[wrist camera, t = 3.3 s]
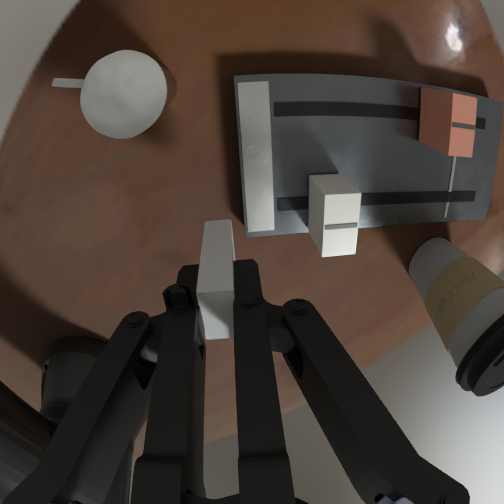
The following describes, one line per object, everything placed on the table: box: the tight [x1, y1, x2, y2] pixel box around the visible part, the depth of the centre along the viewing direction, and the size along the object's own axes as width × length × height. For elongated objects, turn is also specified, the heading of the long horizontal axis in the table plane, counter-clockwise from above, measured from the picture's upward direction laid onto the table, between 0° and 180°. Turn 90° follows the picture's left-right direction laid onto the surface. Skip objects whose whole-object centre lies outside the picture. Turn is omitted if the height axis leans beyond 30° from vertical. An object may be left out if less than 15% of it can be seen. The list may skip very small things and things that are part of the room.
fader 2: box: [419, 87, 477, 157], centre depth 18 cm, size 2×4×4 cm, turn 3°
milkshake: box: [51, 50, 177, 139], centre depth 16 cm, size 4×5×10 cm
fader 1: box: [308, 174, 361, 257], centre depth 22 cm, size 2×4×4 cm, turn 3°
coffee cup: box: [409, 237, 504, 396], centre depth 24 cm, size 9×9×15 cm
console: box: [233, 74, 503, 238], centre depth 23 cm, size 24×12×2 cm, turn 93°
